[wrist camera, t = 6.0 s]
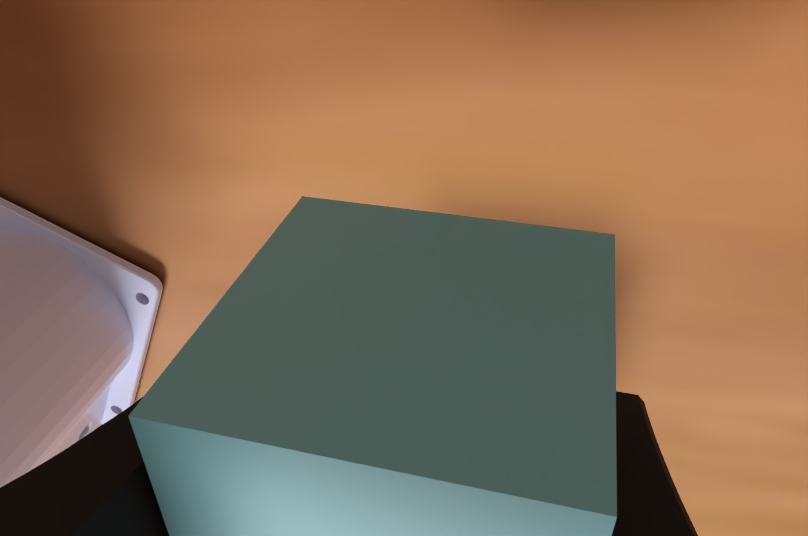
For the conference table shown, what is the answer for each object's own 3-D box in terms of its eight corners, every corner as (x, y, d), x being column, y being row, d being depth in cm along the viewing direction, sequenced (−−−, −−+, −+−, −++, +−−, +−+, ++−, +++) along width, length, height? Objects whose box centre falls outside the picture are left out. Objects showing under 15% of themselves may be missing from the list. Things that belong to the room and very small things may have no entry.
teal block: (568, 455, 13) (550, 747, 9) (324, 408, 14) (209, 650, 10) (614, 234, 10) (616, 516, 6) (302, 196, 11) (127, 415, 7)
